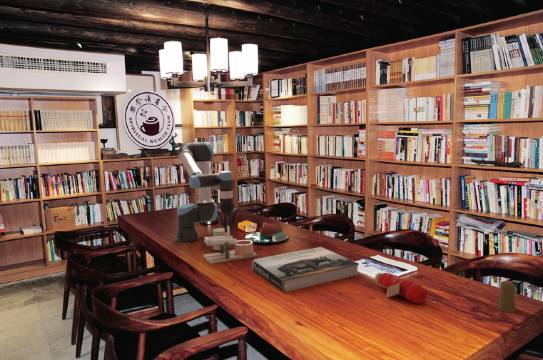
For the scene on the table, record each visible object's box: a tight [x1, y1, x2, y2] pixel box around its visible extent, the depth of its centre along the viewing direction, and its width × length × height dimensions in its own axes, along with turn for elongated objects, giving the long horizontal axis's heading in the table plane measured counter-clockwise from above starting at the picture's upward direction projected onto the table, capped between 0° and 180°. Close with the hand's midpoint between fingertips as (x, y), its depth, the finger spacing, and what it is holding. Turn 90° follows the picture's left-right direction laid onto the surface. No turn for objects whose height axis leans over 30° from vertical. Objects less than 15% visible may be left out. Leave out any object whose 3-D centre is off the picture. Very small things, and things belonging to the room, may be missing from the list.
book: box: [251, 246, 360, 293], centre depth 199 cm, size 43×33×6 cm
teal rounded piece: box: [245, 221, 289, 244], centre depth 262 cm, size 28×28×11 cm
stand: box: [202, 242, 258, 265], centre depth 228 cm, size 15×28×10 cm, turn 114°
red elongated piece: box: [374, 272, 428, 305], centre depth 170 cm, size 12×8×25 cm
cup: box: [233, 239, 254, 255], centre depth 231 cm, size 10×10×6 cm
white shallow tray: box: [203, 235, 238, 247], centre depth 227 cm, size 15×16×3 cm
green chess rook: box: [497, 280, 517, 314], centre depth 154 cm, size 6×6×11 cm
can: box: [212, 227, 226, 251], centre depth 244 cm, size 9×9×12 cm
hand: (228, 237), depth 235 cm, fingers closed
